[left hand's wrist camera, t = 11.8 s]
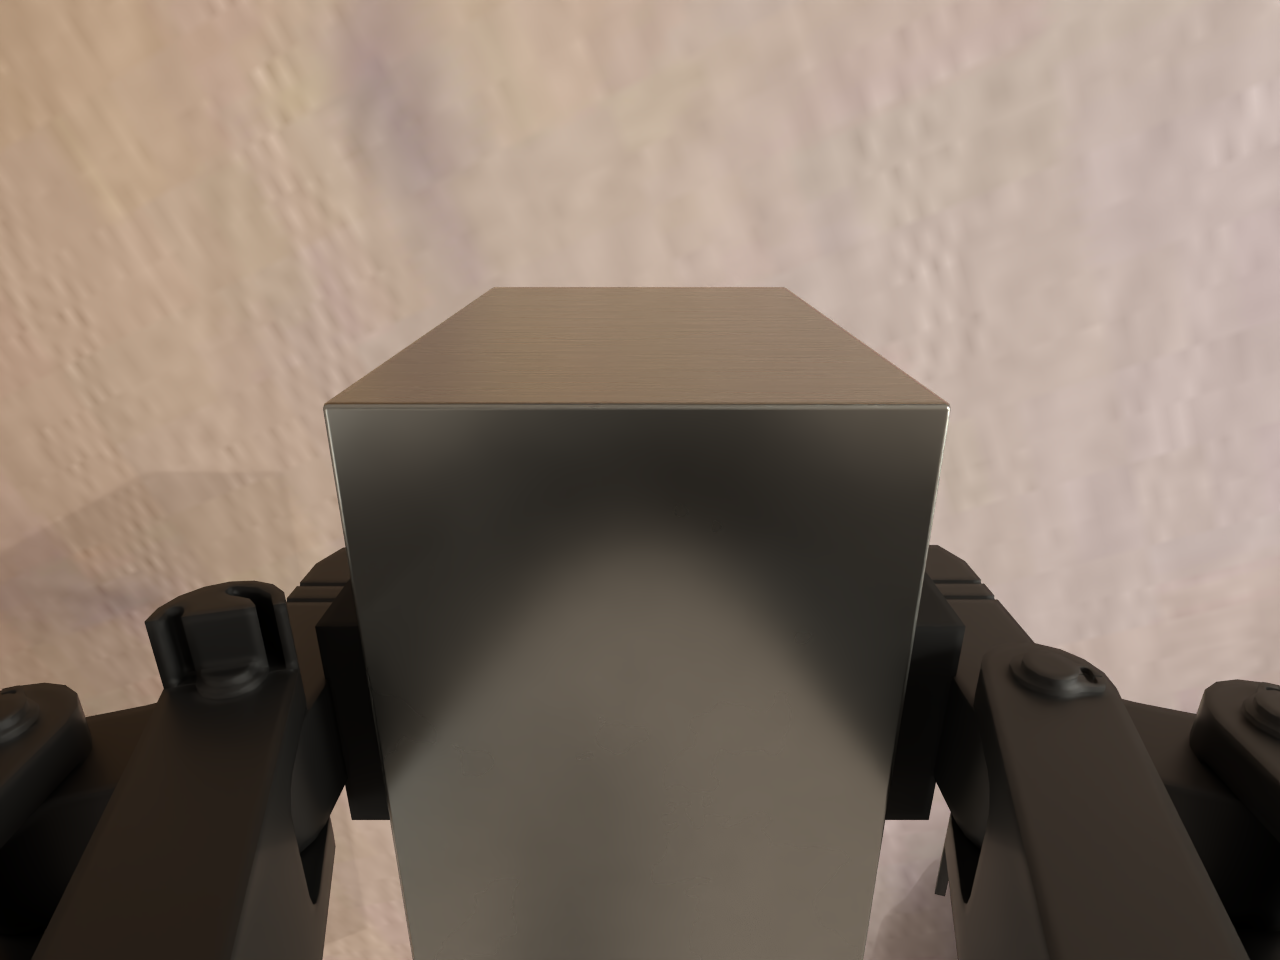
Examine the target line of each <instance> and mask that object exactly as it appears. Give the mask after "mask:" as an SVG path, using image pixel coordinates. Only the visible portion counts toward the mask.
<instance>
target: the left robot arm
mask: <svg viewBox="0 0 1280 960" xmlns="http://www.w3.org/2000/svg"><path fill="white" fill-rule="evenodd" d="M145 625H146V629H147V632H148V636H149V639H150V642H151V646H152V649H153V653H154V656H155V660H156V663H157V667H158V670H159V673H160V677H161V680H162V684H163V687H164V690H163V692H162V694H161V696H160V698H159V700H158V702H157V703H154V704H150V705H146V706H141V707H136V708H131V709H126V710H121V711H116V712H110V713H105V714H100V715H95V716H90V717H85V715H84V712H83V709H82V706H81V703H80V700H79V698H78V695H77V693H76V692H74V691H73V690H72V689H70V688H69V687H67V686H66V685H59V684H51V683H39V684H31V685H23V686H13V687H9V688H4V689H2V691H0V960H322V957H323V949H324V940H325V932H326V923H327V915H328V906H329V898H330V889H331V880H332V872H333V863H334V855H335V840H334V834H333V828H332V824H331V819H330V814H331V812H332V810H333V808H334V806H335V804H336V802H337V800H338V798H339V796H340V794H341V792H342V790H343V787H344V785H345V786H346V792H347V797H348V802H349V807H350V813H351V818H352V820H390V816H389V810H388V804H387V798H386V792H385V785H384V779H383V773H382V767H381V761H380V755H379V749H378V742H377V736H376V730H375V724H374V718H373V712H372V706H371V699H370V693H369V687H368V681H367V675H366V669H365V663H364V656H363V650H362V644H361V638H360V632H359V626H358V620H357V613H356V607H355V601H354V595H353V589H352V583H351V577H350V570H349V564H348V558H347V552H346V548H342V549H340V550H338V551H337V552H335V553H333V554H332V555H330V556H328V557H327V558H325V559H323V560H322V561H320V562H318V563H316V564H315V566H314V567H313V568H312V569H311V570H310V572H309V573H308V574H307V575H306V576H305V577H304V579H303V580H302V581H301V582H300V586H297V587H296V588H295V589H294V590H293V592H292V593H291V594H290V595H289V596H288V598H287V602H286V599H285V595H284V592H283V591H282V590H280V589H279V588H278V587H276V586H275V585H273V584H269V583H264V582H258V581H234V582H226V583H221V584H216V585H211V586H206V587H203V588H200V589H197V590H194V591H192V592H189V593H186V594H183V595H181V596H178V597H177V598H175V599H173V600H171V601H170V602H168V603H166V604H164V605H163V606H161V607H159V608H158V609H157V610H156V611H155V612H154V613H153V614H152V615H151V616H150V617H149V618H148V619H147V620H146V621H145ZM936 783H937V785H938V787H939V789H940V791H941V793H942V795H943V797H944V799H945V801H946V803H947V805H948V807H949V809H950V811H951V814H950V819H949V824H948V828H947V833H946V838H945V843H944V848H943V853H942V858H941V862H940V867H939V872H938V877H937V883H936V889H935V894H937V895H942V896H945V893H946V889H947V884H948V881H949V887H950V896H951V904H952V913H953V921H954V930H955V938H956V947H957V955H958V960H1280V686H1279V685H1275V684H1270V683H1266V682H1254V681H1246V680H1238V679H1237V680H1229V681H1220V682H1216V683H1214V684H1213V685H1211V686H1210V687H1208V688H1207V689H1206V690H1205V691H1204V694H1203V697H1202V700H1201V703H1200V705H1199V708H1198V711H1197V714H1192V713H1187V712H1182V711H1177V710H1172V709H1167V708H1162V707H1156V706H1151V705H1146V704H1141V703H1136V702H1132V701H1128V700H1124V699H1121V696H1120V694H1119V692H1118V690H1117V688H1116V687H1115V686H1114V684H1113V683H1112V682H1111V681H1110V680H1109V678H1108V677H1107V676H1106V675H1105V673H1103V672H1102V671H1101V670H1099V669H1098V668H1096V667H1095V666H1093V665H1092V664H1090V663H1089V662H1087V661H1086V660H1084V659H1082V658H1080V657H1077V656H1075V655H1073V654H1070V653H1068V652H1066V651H1063V650H1061V649H1057V648H1053V647H1049V646H1044V645H1040V644H1036V643H1034V642H1033V641H1032V639H1031V638H1030V637H1029V636H1028V635H1027V633H1026V632H1025V631H1024V630H1023V629H1022V628H1021V626H1020V625H1019V624H1018V623H1017V622H1016V621H1015V619H1014V618H1013V617H1012V616H1011V615H1010V614H1009V612H1008V611H1007V610H1006V609H1005V608H1004V606H1003V605H1002V604H1001V603H1000V602H999V601H998V600H994V595H993V594H992V592H991V591H990V590H989V589H988V588H987V587H986V585H985V584H981V579H980V578H979V577H978V576H977V575H976V574H975V572H974V571H973V570H972V569H971V568H970V567H969V565H968V564H967V563H966V562H965V561H964V560H962V559H960V558H959V557H957V556H955V555H954V554H952V553H950V552H948V551H947V550H945V549H943V548H942V547H940V546H938V545H929V547H928V554H927V560H926V566H925V573H924V579H923V585H922V591H921V598H920V604H919V610H918V617H917V623H916V629H915V635H914V642H913V648H912V654H911V661H910V667H909V673H908V679H907V686H906V692H905V698H904V705H903V711H902V717H901V723H900V730H899V736H898V742H897V749H896V755H895V761H894V767H893V774H892V780H891V786H890V793H889V799H888V805H887V811H886V818H885V820H929V815H930V810H931V805H932V800H933V794H934V789H935V784H936Z"/></svg>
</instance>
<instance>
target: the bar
mask: <svg viewBox="0 0 1280 960" xmlns="http://www.w3.org/2000/svg"><path fill="white" fill-rule="evenodd" d="M950 409H951V408H950V405H949V403H947V402H946V401H944V400H943V399H942V398H940V397H939V396H937V395H936V394H935V393H933V392H932V391H930V390H929V389H928V388H926V387H925V386H923V385H922V384H920V383H919V382H918V381H916V380H915V379H913V378H912V377H911V376H909V375H908V374H906V373H905V372H904V371H902V370H901V369H899V368H898V367H896V366H895V365H894V364H892V363H891V362H889V361H888V360H887V359H885V358H884V357H882V356H881V355H880V354H878V353H877V352H875V351H874V350H873V349H871V348H870V347H868V346H867V345H865V344H864V343H863V342H861V341H860V340H858V339H857V338H856V337H854V336H853V335H851V334H850V333H849V332H847V331H846V330H844V329H843V328H841V327H840V326H839V325H837V324H836V323H834V322H833V321H832V320H830V319H829V318H827V317H826V316H825V315H823V314H822V313H820V312H819V311H817V310H816V309H815V308H813V307H812V306H810V305H809V304H808V303H806V302H805V301H803V300H802V299H801V298H799V297H798V296H796V295H795V294H794V293H792V292H791V291H789V290H788V289H786V288H784V287H494V288H492V289H490V290H489V291H487V292H486V293H484V294H483V295H482V296H480V297H479V298H477V299H476V300H474V301H473V302H471V303H470V304H469V305H467V306H466V307H464V308H463V309H461V310H460V311H458V312H457V313H455V314H454V315H453V316H451V317H450V318H448V319H447V320H445V321H444V322H442V323H441V324H440V325H438V326H437V327H435V328H434V329H432V330H431V331H429V332H428V333H426V334H425V335H424V336H422V337H421V338H419V339H418V340H416V341H415V342H413V343H412V344H411V345H409V346H408V347H406V348H405V349H403V350H402V351H400V352H399V353H397V354H396V355H395V356H393V357H392V358H390V359H389V360H387V361H386V362H384V363H383V364H381V365H380V366H379V367H377V368H376V369H374V370H373V371H371V372H370V373H368V374H367V375H366V376H364V377H363V378H361V379H360V380H358V381H357V382H355V383H354V384H352V385H351V386H350V387H348V388H347V389H345V390H344V391H342V392H341V393H339V394H338V395H337V396H335V397H334V398H332V399H331V400H329V401H328V402H326V403H325V404H324V407H323V411H324V417H325V423H326V429H327V435H328V441H329V448H330V454H331V460H332V466H333V472H334V478H335V484H336V491H337V497H338V503H339V509H340V515H341V521H342V527H343V534H344V540H345V546H346V552H347V558H348V564H349V570H350V577H351V583H352V589H353V595H354V601H355V607H356V613H357V620H358V626H359V632H360V638H361V644H362V650H363V656H364V663H365V669H366V675H367V681H368V687H369V693H370V699H371V706H372V712H373V718H374V724H375V730H376V736H377V742H378V749H379V755H380V761H381V767H382V773H383V779H384V785H385V792H386V798H387V804H388V810H389V816H390V822H391V828H392V835H393V841H394V847H395V853H396V859H397V865H398V871H399V878H400V884H401V890H402V896H403V902H404V908H405V914H406V921H407V927H408V933H409V939H410V945H411V951H412V957H413V960H863V956H864V950H865V943H866V937H867V931H868V925H869V918H870V912H871V906H872V899H873V893H874V887H875V881H876V874H877V868H878V862H879V855H880V849H881V843H882V837H883V830H884V824H885V818H886V811H887V805H888V799H889V793H890V786H891V780H892V774H893V767H894V761H895V755H896V749H897V742H898V736H899V730H900V723H901V717H902V711H903V705H904V698H905V692H906V686H907V679H908V673H909V667H910V661H911V654H912V648H913V642H914V635H915V629H916V623H917V617H918V610H919V604H920V598H921V591H922V585H923V579H924V573H925V566H926V560H927V554H928V547H929V541H930V535H931V529H932V522H933V516H934V510H935V503H936V497H937V491H938V485H939V478H940V472H941V466H942V459H943V453H944V447H945V441H946V434H947V428H948V422H949V415H950Z"/></svg>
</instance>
